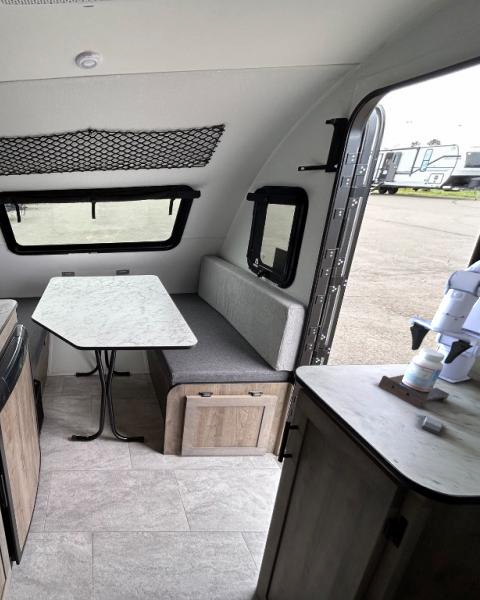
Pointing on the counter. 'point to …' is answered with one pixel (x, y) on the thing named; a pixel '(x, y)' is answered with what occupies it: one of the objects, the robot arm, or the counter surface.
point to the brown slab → (410, 391)
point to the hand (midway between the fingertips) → (430, 356)
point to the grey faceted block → (431, 425)
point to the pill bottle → (424, 370)
